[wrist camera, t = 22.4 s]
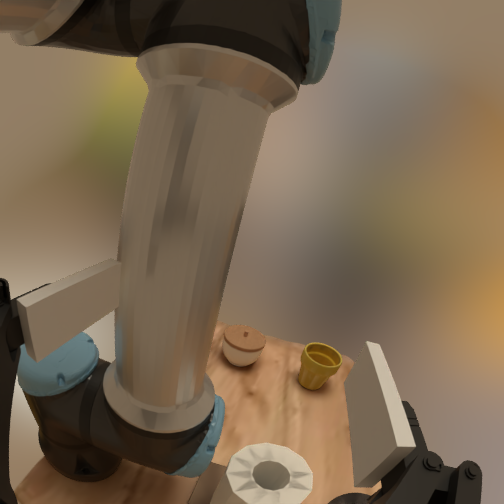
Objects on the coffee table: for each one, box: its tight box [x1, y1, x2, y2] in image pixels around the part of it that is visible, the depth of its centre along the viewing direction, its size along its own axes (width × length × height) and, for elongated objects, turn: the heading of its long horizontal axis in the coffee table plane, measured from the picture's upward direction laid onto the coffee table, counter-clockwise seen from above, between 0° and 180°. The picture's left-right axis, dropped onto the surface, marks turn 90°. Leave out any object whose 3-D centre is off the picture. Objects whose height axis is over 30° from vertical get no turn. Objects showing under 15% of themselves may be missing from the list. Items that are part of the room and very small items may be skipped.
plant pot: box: [298, 343, 342, 390], centre depth 64 cm, size 10×10×10 cm
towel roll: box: [210, 443, 313, 504], centre depth 25 cm, size 10×10×15 cm
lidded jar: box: [222, 325, 266, 367], centre depth 67 cm, size 11×11×9 cm
